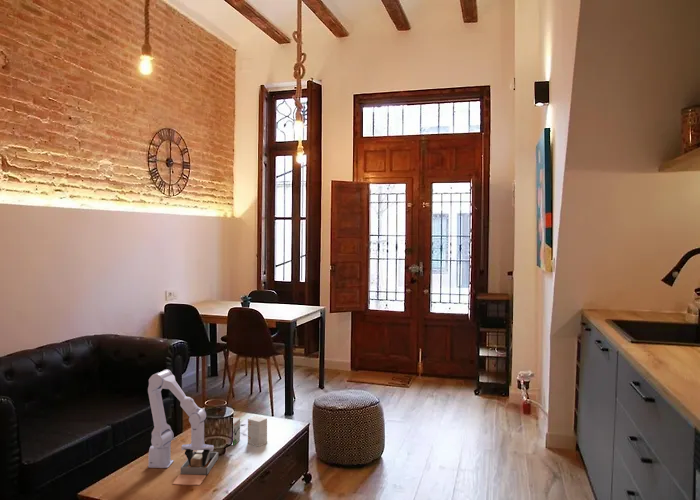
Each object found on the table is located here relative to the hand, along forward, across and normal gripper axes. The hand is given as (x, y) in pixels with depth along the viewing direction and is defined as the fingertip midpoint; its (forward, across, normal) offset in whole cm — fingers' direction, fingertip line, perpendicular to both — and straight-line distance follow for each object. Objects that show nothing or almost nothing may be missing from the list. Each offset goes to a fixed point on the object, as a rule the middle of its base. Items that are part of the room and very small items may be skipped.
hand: (197, 465), depth 252 cm
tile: (+2, 0, -11) cm, 11 cm away
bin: (+2, 0, +4) cm, 4 cm away
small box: (+2, +21, +33) cm, 39 cm away
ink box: (+2, +8, +33) cm, 34 cm away
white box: (+2, 0, +8) cm, 8 cm away
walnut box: (+2, 0, 0) cm, 2 cm away
